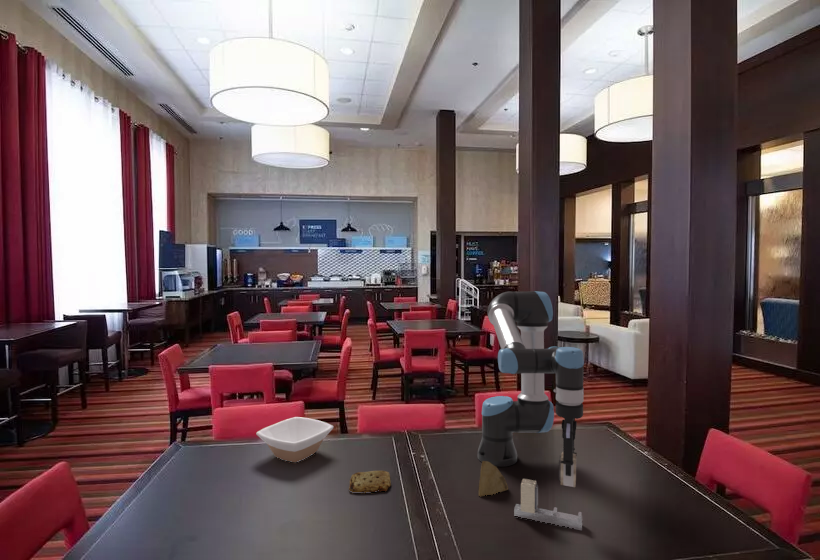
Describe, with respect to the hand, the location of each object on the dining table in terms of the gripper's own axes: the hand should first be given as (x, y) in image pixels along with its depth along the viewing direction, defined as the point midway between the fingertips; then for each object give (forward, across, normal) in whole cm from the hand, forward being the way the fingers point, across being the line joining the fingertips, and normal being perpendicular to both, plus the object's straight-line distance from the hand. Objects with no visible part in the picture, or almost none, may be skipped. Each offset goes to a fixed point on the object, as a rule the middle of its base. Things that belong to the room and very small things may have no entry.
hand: (568, 481), depth 133 cm
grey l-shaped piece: (+13, 0, -6) cm, 14 cm away
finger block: (0, 0, 0) cm, 0 cm away
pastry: (+13, -1, -65) cm, 67 cm away
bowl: (+13, -11, -103) cm, 105 cm away
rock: (+13, -11, -24) cm, 30 cm away
